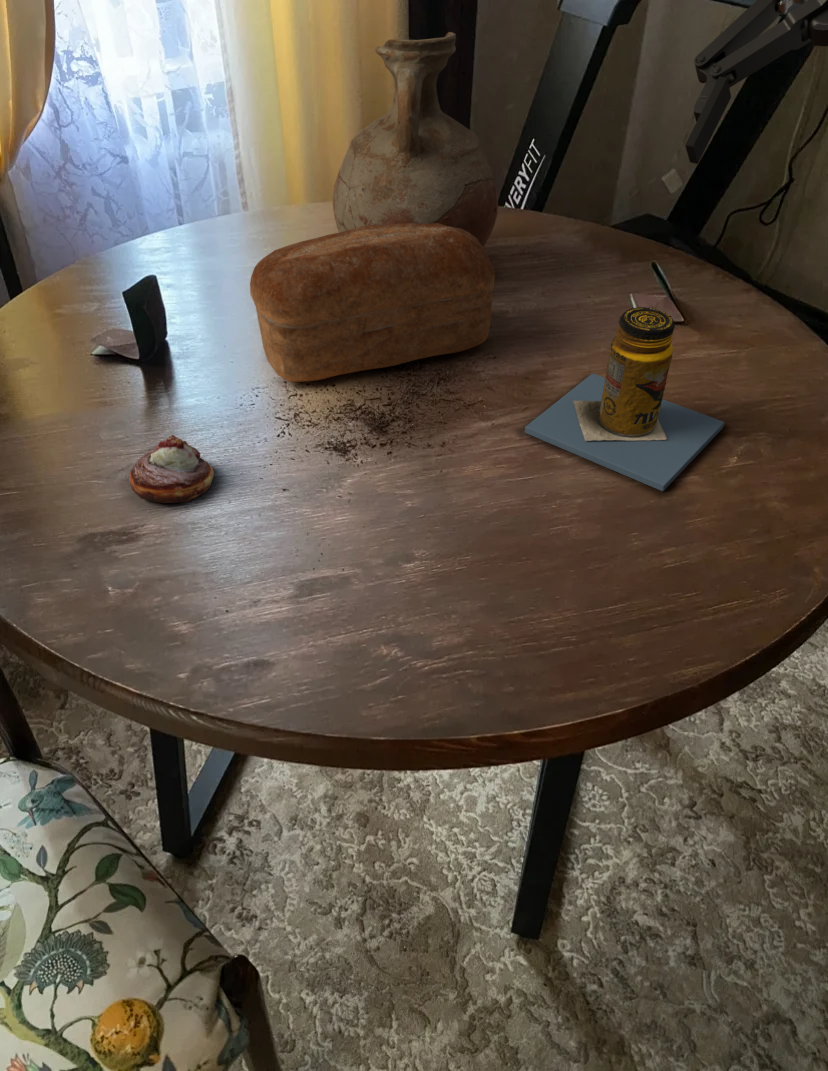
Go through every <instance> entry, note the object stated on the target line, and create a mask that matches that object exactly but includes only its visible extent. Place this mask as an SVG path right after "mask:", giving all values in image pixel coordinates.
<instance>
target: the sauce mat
mask: <svg viewBox="0 0 828 1071" xmlns="http://www.w3.org/2000/svg"><path fill="white" fill-rule="evenodd" d="M604 383H605V377H603V376H601V375H598V374H595V373H590V374H589V375H588V376H587V377H586V378H585V379H583V380H582V381H581V382H580V383H578V384H577V385H576V386H575V387H573V388H572V389H571V390H570V391H569V392H567V393H565V395H564V396H562V397H561V398H559V400H557V401H556V402H554V403H553V404H551V406H549V407H548V408H547V409H545V411H543V412H542V413H541V414H539V415H538V416H537V417H536V418H534V419H533V420H531V421H530V423H528V424H526V426H525V427H524V434H526V435H529V436H530V437H534V438H536V439H538V440H541V441H543V442H545V443H547V444H550V445H552V446H555V447H557V448H559V449H562V450H564V451H567V452H568V453H571V454H573V455H576V456H578V457H580V458H583V459H585V460H588V461H590V462H592V463H594V464H597V465H599V466H602V467H604V468H606V469H608V470H611V471H613V472H616V473H618V474H620V475H623V476H625V477H628V478H629V479H632V480H635V481H637V482H639V483H641V484H644V485H647V486H649V487H652V488H653V489H656V490H658V491H661V492H664V491H665V490H666V489H667V488H668V487H669V486H670V485H671V484H672V483H673V482H674V480H675V479H676V478H678V476H679V475H680V474H681V473H682V472H684V470H685V469H686V468H687V467H688V466H689V465H690V464H691V463H692V462H693V461H694V459H695V458H696V457H698V455H699V454H700V453H701V452H702V451H703V450H704V449H705V448H706V447H707V446H708V445H709V443H710V442H711V441H712V440H713V439H715V437H716V436H717V435H718V434H719V433H720V431H722V430H723V429H724V426H725V421H723V420H720V419H717V418H715V417H712V416H710V415H706V414H704V413H701V412H699V411H696V410H693V409H690V408H687V407H685V406H682V405H680V404H677V403H674V402H671V401H668V400H665V399H664V398H662V403H661V408H660V411H659V415H658V420H659V422H660V424H661V427H662V429H663V431H664V433H665V435H666V437H667V439H665V440H634V441H627V440H601V441H597V440H591V441H585V439H584V436H583V433H582V429H581V427H580V423H579V420H578V417H577V413H576V410H575V405H574V402H573V401H581V400H583V401H602V395H603V389H604Z"/></svg>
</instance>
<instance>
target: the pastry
mask: <svg viewBox="0 0 828 1071" xmlns="http://www.w3.org/2000/svg"><path fill="white" fill-rule="evenodd" d="M214 472H215V470H214V469H213V467H212V466H211V465H210V463H209V462H208V461H207V460H205V459H203V458H202V457H201V452H200V451H199V450H198V449H197V448H196V447H194V446H192V445H190V444H189V443H188V442H187V441H186V440H183V439H181V438H178V437H177V436H175V435H174V434H171V435H170V436H168V437H167V438H166V439H165V440H163V441H161V440H160V441H159V443H158V445H156V447H155V449H152V450H149V451H147V452H146V453H145V454H144V455H142V456H141V457H139V459H138V460H137V461H136V462H135V464H134V466H133V467H132V469H131V470H130V472H129V476H128V482H129V484H130V488H131V490H132V491H133V493H135V495H136V496H138V497H139V499H141V500H145V501H150V502H154V503H158V504H174V503H176V504H177V503H188V502H190V501H191V500H194V499H195V498H197V497H199V496H201V495H202V494H205V492H206V491H207V490H209V489H210V488H211V486H212V482H213V480H214V474H215V473H214Z"/></svg>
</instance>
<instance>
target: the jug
mask: <svg viewBox="0 0 828 1071" xmlns="http://www.w3.org/2000/svg"><path fill="white" fill-rule="evenodd" d="M456 40H457V34H456V33H454V32H452V31H448V32H447V33H446V34H445V35H444V36H443V37H434V38H425V39H399V38H397V39H396V38H395V39H393V38H392V39H388V40H386V42H384V44H383V45H381V46H380V45H378V46H376V47H375V48H374V49H375V50H374V52H375V53H376V54H377V55H378V56H379V57H381V59H382V61H383V63H384V67H385V68H386V69H387V70H388V71H389V72H390V74H391V76H392V78H393V84H394V96H393V100H392V104H391V108H390V109H389V111H387V113H385V114H384V115H382V116H380V117H378V118H377V119H375V120H374V121H373V122H371V123H370V124H368V125H367V126H366V127H364V128H363V129H361V130H360V131H359V132H358V133H357V134H355V135H354V137H353V138H352V139H351V140H350V143H349V146H348V148H347V150H346V153H345V154H344V157H343V159H342V161H341V164H340V167H339V170H338V173H337V176H336V179H335V183H334V185H333V194H332V210H333V216H334V221H335V225H336V228H337V231H338V233H340V232H344V231H347V230H351V229H355V228H358V227H362V226H366V225H390V224H406V223H418V224H432V223H439V224H442V225H445V226H449V227H455V228H461V229H463V230H465V231H467V232H469V233H470V234H471V235H473V236H474V237H476V238H477V239H478V241H479V242H480V244H481V245H482V247H483V248H484V247H485V245H486V244H487V242H488V240H489V238H490V236H491V235H492V232H493V230H494V227H495V225H496V222H497V218H498V210H499V198H498V191H497V190H498V189H497V186H496V181H495V176H494V173H493V169H492V166H491V163H490V161H489V159H488V156H487V154H486V152H485V151H484V148H483V146H482V144H481V142H480V139H479V137H478V135H476V134H475V133H474V132H473V131H472V130H470V129H469V128H467V127H466V126H465V125H463V124H462V123H460V122H459V121H457V120H456V119H455V118H453V117H451V116H450V115H448V114H446V113H445V112H443V111H442V109H441V106H440V103H439V98H438V91H437V81H438V77H439V75H440V73H441V72H442V71H443V70H444V69H445V68H446V66H447V64H448V61H449V58H450V57H451V56H452V55H453V54H454V53H455V52H456V50H457V47H456Z"/></svg>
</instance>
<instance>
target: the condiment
mask: <svg viewBox="0 0 828 1071" xmlns="http://www.w3.org/2000/svg"><path fill="white" fill-rule="evenodd" d="M675 328H676V324H675V321H674V319H673V317H672V315H669V313H667V312H665V311H663V310H661V309H657V308H653V307H644V306H639V307H632V308H629V309H627V310H625V311H624V312H622V314H621V316H620V317H619V319H618V326H617V329H616V335H615V336H614V337H613V338H612V340H611V342H610V348H609V353H608V354H609V355H608V360H607V365H606V372H605V377H604V378H605V383H604V389H603V395H602V401H583V400H581V401H573V402H574V405H575V410H576V413H577V417H578V420H579V423H580V427H581V429H582V433H583V436H584V439H585V441H591V440H597V441H601V440H627V441H634V440H665V439H667V437H666V435H665V433H664V431H663V429H662V427H661V424H660V422H659V420H658V415H659V411H660V408H661V403H662V399H663V398H664V394H665V390H666V385H667V380H668V376H669V372H670V367H671V362H672V360H673V353H674V347H673V345H672V342H673V333H674V330H675Z"/></svg>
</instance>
